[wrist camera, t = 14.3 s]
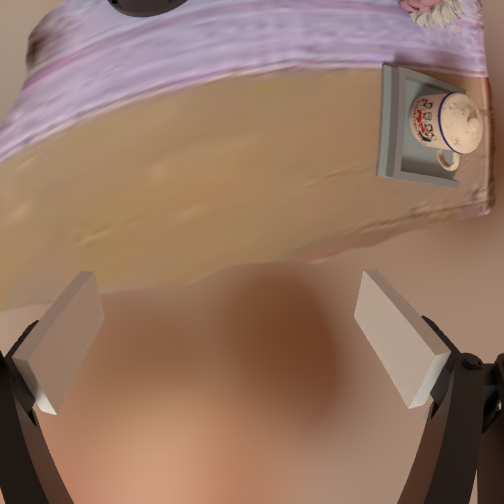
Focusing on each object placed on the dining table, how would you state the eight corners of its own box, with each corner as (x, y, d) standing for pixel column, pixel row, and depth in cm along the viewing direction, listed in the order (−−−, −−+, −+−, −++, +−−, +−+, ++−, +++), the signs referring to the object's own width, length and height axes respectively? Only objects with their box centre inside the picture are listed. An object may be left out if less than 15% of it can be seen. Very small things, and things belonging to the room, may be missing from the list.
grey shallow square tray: (381, 65, 36) (391, 62, 34) (456, 90, 38) (467, 89, 35) (375, 175, 43) (385, 179, 40) (449, 186, 45) (460, 190, 42)
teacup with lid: (403, 92, 37) (449, 86, 27) (445, 96, 38) (492, 95, 27) (409, 166, 42) (454, 179, 31) (449, 164, 42) (495, 177, 31)
